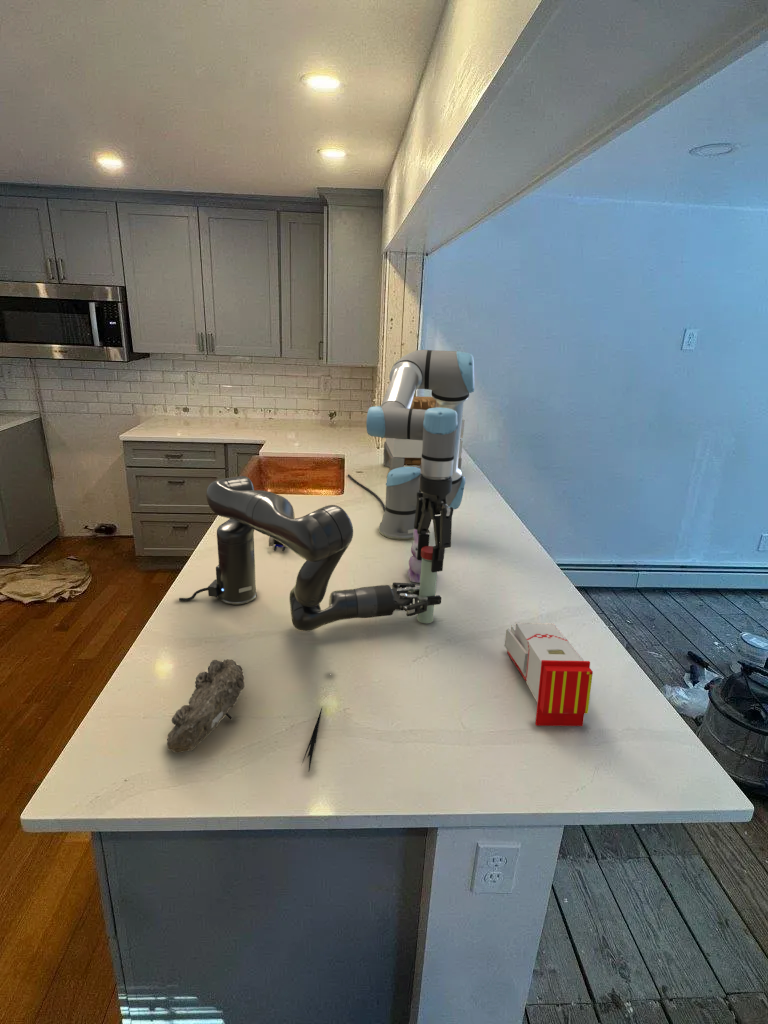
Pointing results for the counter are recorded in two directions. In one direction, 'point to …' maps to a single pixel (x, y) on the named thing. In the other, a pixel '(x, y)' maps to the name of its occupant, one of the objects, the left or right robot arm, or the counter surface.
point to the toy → (551, 672)
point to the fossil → (206, 705)
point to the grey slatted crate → (411, 442)
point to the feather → (313, 740)
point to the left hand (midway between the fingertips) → (437, 595)
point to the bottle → (427, 589)
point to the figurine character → (276, 544)
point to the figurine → (414, 561)
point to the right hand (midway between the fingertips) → (429, 564)
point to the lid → (427, 552)
